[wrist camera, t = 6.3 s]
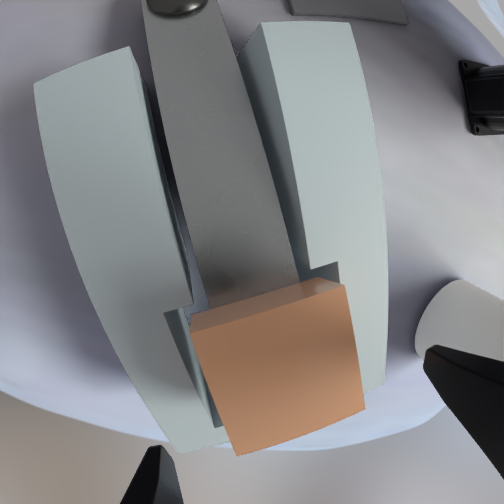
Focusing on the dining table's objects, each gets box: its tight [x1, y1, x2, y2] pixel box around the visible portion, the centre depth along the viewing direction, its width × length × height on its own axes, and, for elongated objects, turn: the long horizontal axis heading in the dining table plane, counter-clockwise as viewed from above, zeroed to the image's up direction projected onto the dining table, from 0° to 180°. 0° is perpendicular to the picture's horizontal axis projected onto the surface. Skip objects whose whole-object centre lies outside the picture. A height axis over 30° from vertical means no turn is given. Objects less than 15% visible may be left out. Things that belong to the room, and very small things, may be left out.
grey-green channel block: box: [33, 21, 388, 453], centre depth 14 cm, size 18×12×6 cm, turn 12°
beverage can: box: [415, 279, 504, 361], centre depth 18 cm, size 8×8×12 cm
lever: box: [141, 0, 300, 309], centre depth 11 cm, size 21×4×1 cm, turn 12°
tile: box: [189, 277, 365, 456], centre depth 10 cm, size 5×5×2 cm
